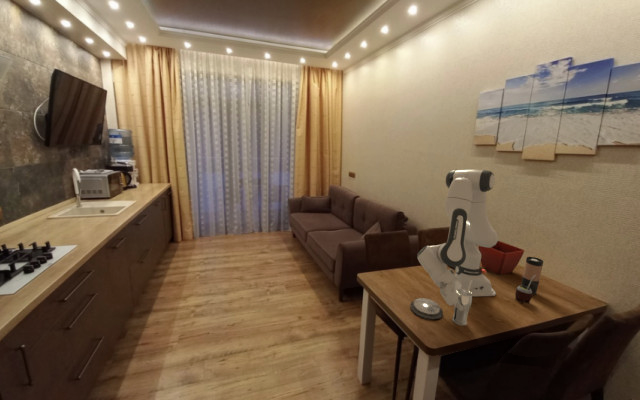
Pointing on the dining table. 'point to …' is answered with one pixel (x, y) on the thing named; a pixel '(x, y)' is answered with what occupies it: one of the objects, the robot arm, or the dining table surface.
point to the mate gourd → (524, 293)
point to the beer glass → (465, 301)
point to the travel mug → (532, 273)
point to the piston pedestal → (426, 309)
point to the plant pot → (500, 257)
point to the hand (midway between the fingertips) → (463, 304)
